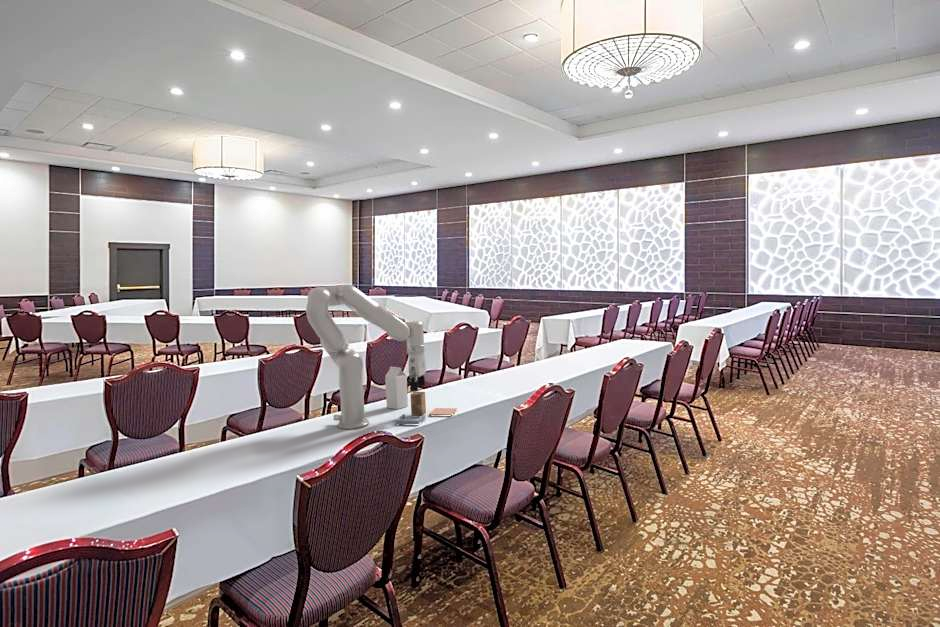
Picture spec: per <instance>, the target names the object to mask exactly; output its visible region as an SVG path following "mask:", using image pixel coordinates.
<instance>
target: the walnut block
mask: <svg viewBox="0 0 940 627" xmlns="http://www.w3.org/2000/svg"><path fill="white" fill-rule="evenodd" d="M410 409H411V412H410V413H411V414H410V415H411V417H412V416H422V415H424V414H425V413H426V414H427V409H426V391H412V392H411V393H410ZM426 414H425V415H426Z"/></svg>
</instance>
